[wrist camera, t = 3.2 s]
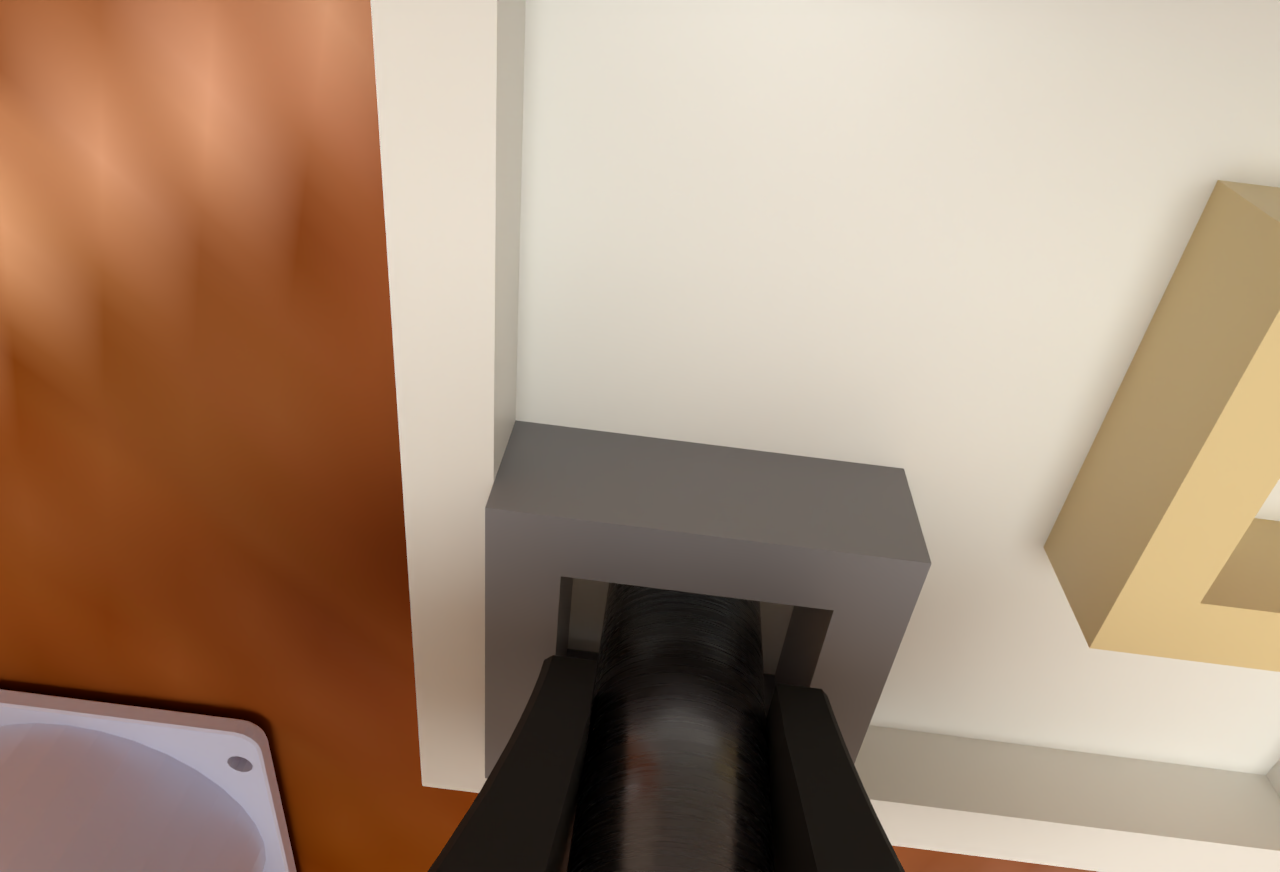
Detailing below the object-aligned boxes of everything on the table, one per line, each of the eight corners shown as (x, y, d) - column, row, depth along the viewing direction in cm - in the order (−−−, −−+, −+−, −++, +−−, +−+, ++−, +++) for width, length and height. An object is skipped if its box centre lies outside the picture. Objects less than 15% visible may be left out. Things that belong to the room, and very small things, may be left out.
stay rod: (745, 647, 15) (761, 1158, 9) (603, 629, 15) (531, 1130, 9) (771, 539, 14) (810, 1060, 8) (615, 519, 14) (540, 1025, 8)
